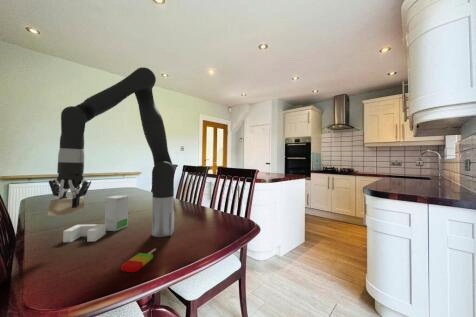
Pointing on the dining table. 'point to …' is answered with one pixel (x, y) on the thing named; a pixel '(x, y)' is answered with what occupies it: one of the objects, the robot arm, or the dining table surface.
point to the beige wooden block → (64, 206)
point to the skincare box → (116, 212)
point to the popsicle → (137, 262)
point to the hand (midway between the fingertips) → (69, 207)
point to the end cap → (84, 232)
